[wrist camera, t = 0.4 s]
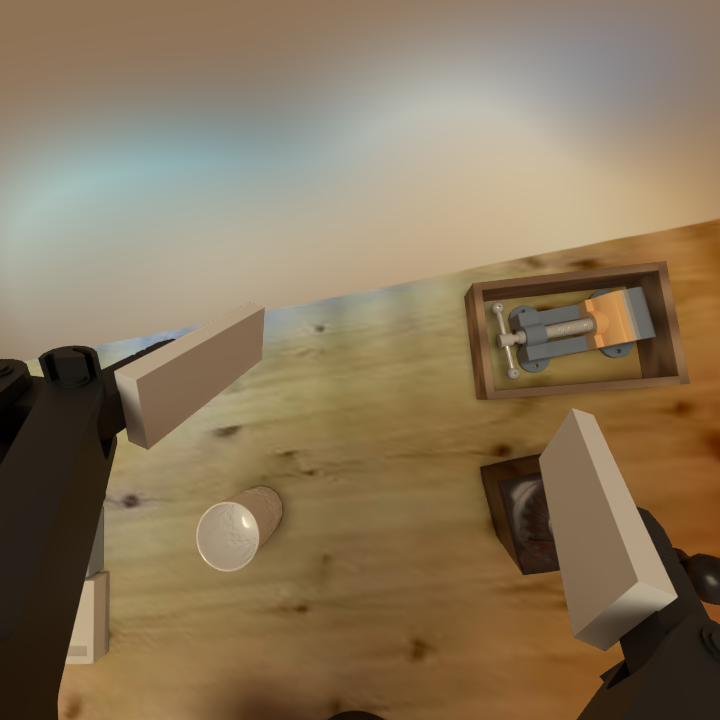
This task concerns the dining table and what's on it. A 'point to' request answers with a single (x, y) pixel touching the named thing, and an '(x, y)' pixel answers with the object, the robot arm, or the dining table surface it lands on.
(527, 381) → the dining table surface
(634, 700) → the robot arm
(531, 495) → the coffee grinder
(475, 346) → the tool caddy
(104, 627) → the tray
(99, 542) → the jig block
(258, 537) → the white cup
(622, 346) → the vise
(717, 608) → the dining table surface
